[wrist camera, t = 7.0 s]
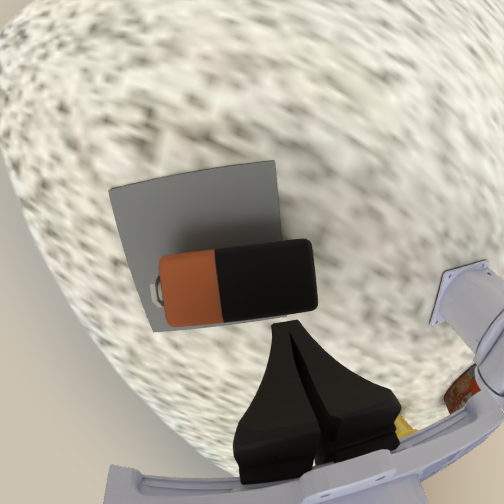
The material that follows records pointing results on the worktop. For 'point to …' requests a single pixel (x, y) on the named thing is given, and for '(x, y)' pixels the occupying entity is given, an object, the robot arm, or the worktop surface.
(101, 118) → the worktop surface
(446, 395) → the food container
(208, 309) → the battery
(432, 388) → the worktop surface
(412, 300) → the worktop surface
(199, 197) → the mat
